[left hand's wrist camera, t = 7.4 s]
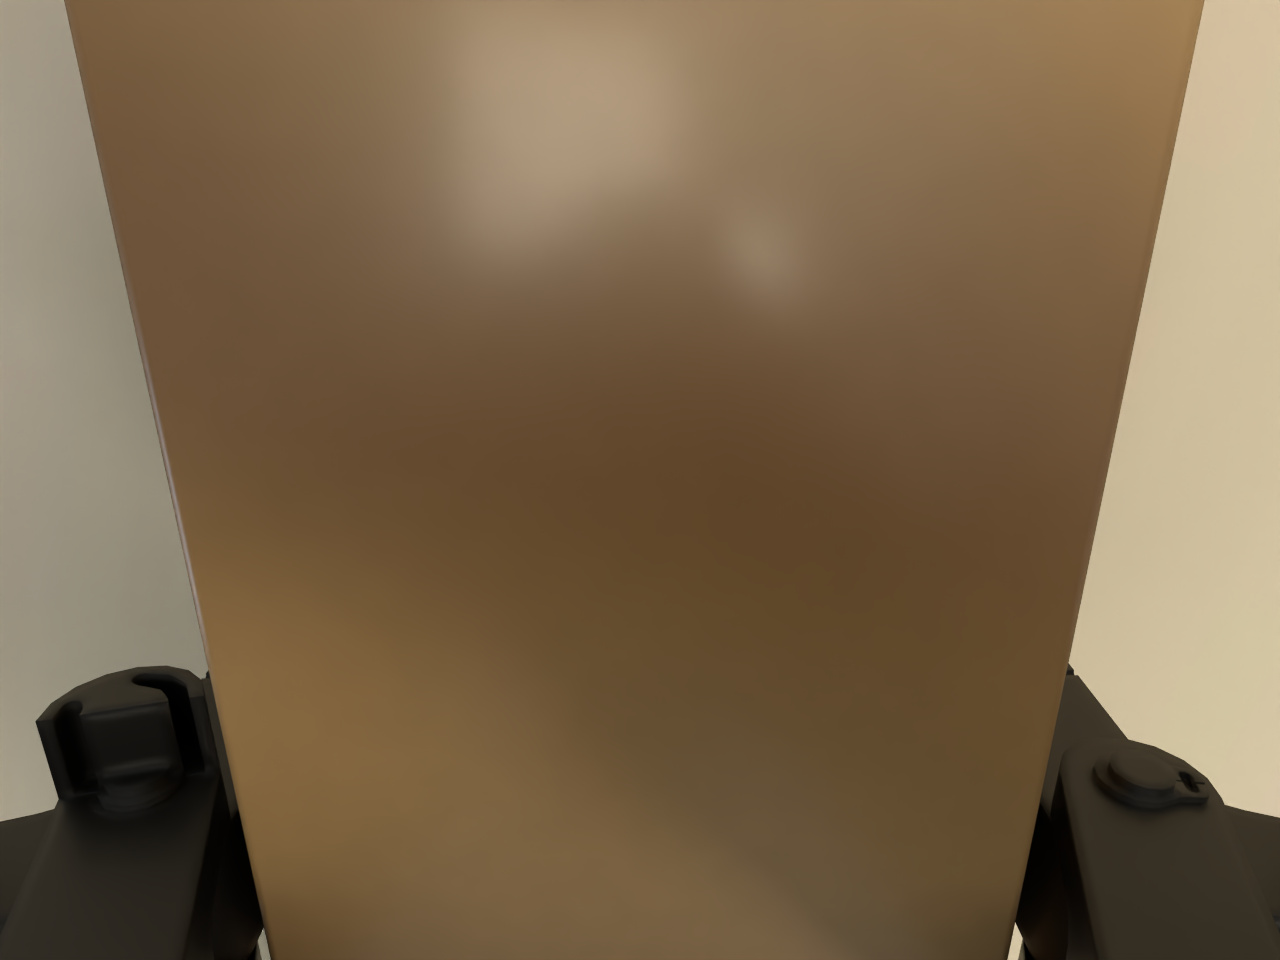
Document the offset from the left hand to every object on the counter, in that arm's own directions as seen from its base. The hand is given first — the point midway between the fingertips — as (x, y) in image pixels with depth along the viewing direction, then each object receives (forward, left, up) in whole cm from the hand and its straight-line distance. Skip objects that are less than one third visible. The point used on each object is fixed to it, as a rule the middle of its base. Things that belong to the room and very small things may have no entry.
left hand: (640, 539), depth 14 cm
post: (+31, -13, -1) cm, 33 cm away
